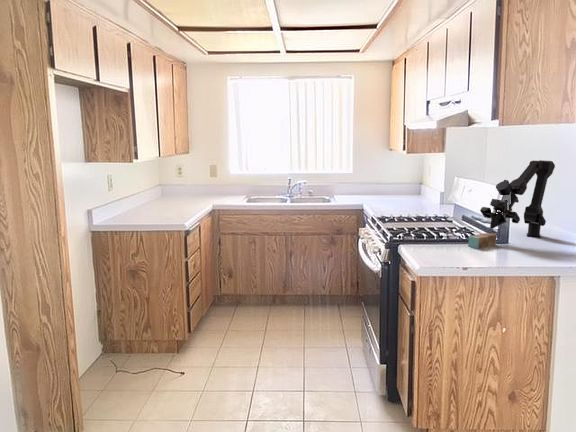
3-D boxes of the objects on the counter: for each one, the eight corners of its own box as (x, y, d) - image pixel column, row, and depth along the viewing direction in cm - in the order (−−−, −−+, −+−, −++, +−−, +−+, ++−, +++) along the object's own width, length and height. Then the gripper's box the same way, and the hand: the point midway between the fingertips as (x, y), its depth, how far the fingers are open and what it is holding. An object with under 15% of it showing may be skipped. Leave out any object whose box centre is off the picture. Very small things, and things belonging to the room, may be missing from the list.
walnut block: (487, 232, 244) (468, 236, 236) (496, 234, 239) (477, 238, 232) (486, 242, 244) (468, 246, 237) (495, 244, 240) (477, 248, 233)
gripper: (483, 190, 248) (467, 214, 244) (518, 195, 232) (502, 221, 228) (492, 204, 253) (477, 228, 249) (526, 210, 238) (511, 235, 234)
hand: (491, 228), depth 240 cm, fingers closed
